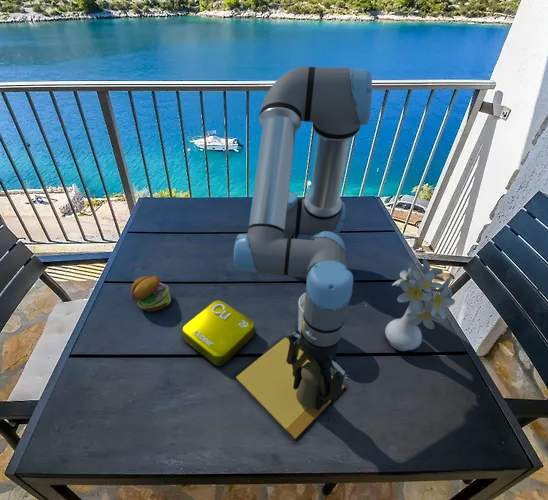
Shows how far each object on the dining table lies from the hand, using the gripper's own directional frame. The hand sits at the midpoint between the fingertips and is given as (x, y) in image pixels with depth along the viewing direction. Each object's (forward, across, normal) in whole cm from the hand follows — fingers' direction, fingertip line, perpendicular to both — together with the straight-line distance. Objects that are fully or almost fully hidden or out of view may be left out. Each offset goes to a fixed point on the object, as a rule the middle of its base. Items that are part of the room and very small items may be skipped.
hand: (309, 395), depth 81 cm
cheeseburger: (+2, -53, -11) cm, 54 cm away
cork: (0, 0, 0) cm, 1 cm away
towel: (+2, -6, 0) cm, 6 cm away
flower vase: (+2, +7, +31) cm, 32 cm away
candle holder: (+2, -12, +16) cm, 20 cm away
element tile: (+2, -29, -4) cm, 29 cm away
